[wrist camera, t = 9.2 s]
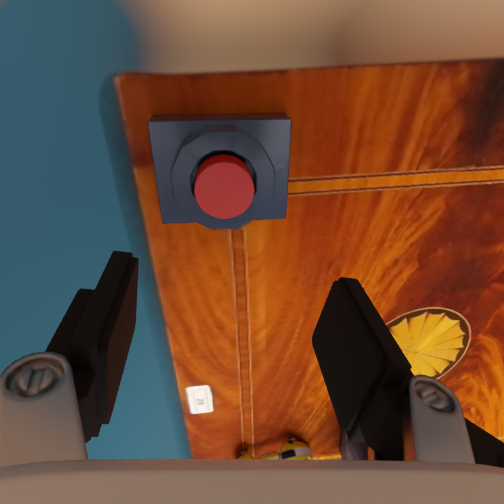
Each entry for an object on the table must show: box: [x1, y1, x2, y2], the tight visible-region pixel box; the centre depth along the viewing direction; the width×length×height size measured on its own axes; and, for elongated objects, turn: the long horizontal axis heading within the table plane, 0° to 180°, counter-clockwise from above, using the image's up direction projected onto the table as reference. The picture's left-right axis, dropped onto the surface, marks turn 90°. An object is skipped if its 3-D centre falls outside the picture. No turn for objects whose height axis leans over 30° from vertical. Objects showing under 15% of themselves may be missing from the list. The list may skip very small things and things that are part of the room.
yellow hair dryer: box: [238, 436, 312, 460], centre depth 44 cm, size 10×6×4 cm, turn 108°
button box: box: [147, 113, 292, 230], centre depth 23 cm, size 9×7×4 cm
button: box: [194, 154, 254, 219], centre depth 21 cm, size 4×4×2 cm
